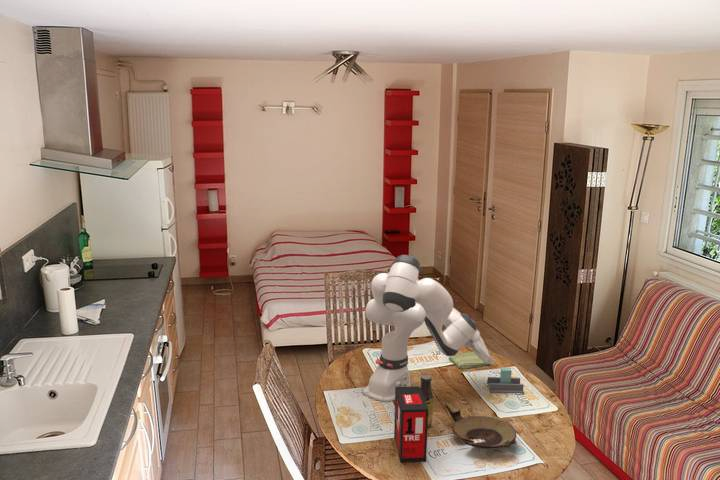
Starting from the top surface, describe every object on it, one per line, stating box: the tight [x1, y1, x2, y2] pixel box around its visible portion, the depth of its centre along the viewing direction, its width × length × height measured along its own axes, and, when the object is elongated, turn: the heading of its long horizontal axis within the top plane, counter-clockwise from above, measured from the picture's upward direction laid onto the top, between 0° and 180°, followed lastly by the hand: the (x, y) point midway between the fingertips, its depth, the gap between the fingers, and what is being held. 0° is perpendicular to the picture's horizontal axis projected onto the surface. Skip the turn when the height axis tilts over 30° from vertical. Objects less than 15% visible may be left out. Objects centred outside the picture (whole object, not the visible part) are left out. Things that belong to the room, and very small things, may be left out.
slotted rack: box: [486, 376, 525, 395], centre depth 257 cm, size 14×10×4 cm
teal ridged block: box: [499, 367, 513, 384], centre depth 257 cm, size 4×3×8 cm
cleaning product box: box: [393, 385, 428, 464], centre depth 210 cm, size 16×9×20 cm, turn 4°
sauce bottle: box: [420, 374, 434, 429], centre depth 226 cm, size 6×6×20 cm
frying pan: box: [444, 402, 517, 450], centre depth 219 cm, size 22×30×8 cm
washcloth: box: [448, 351, 492, 370], centre depth 283 cm, size 13×18×3 cm
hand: (491, 358), depth 256 cm, fingers open, 8 cm apart
